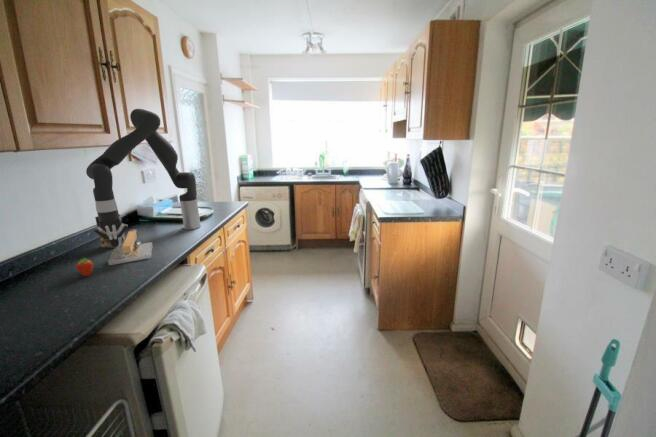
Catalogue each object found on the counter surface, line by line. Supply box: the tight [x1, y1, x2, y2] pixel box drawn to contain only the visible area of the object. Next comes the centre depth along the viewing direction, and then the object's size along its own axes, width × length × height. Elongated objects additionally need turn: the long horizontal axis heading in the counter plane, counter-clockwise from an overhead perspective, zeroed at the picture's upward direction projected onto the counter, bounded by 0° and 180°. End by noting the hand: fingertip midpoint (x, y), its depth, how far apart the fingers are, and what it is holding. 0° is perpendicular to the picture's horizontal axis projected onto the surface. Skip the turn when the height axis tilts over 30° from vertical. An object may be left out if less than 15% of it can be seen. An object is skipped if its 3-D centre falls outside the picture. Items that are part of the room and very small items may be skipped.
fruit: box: [76, 257, 94, 277], centre depth 124 cm, size 5×5×8 cm
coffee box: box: [94, 213, 126, 248], centre depth 157 cm, size 9×6×16 cm
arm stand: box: [134, 237, 142, 245], centre depth 158 cm, size 5×5×4 cm
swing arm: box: [121, 228, 139, 253], centre depth 146 cm, size 28×4×3 cm, turn 26°
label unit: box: [107, 242, 154, 266], centre depth 145 cm, size 18×16×2 cm
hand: (115, 246), depth 140 cm, fingers closed
